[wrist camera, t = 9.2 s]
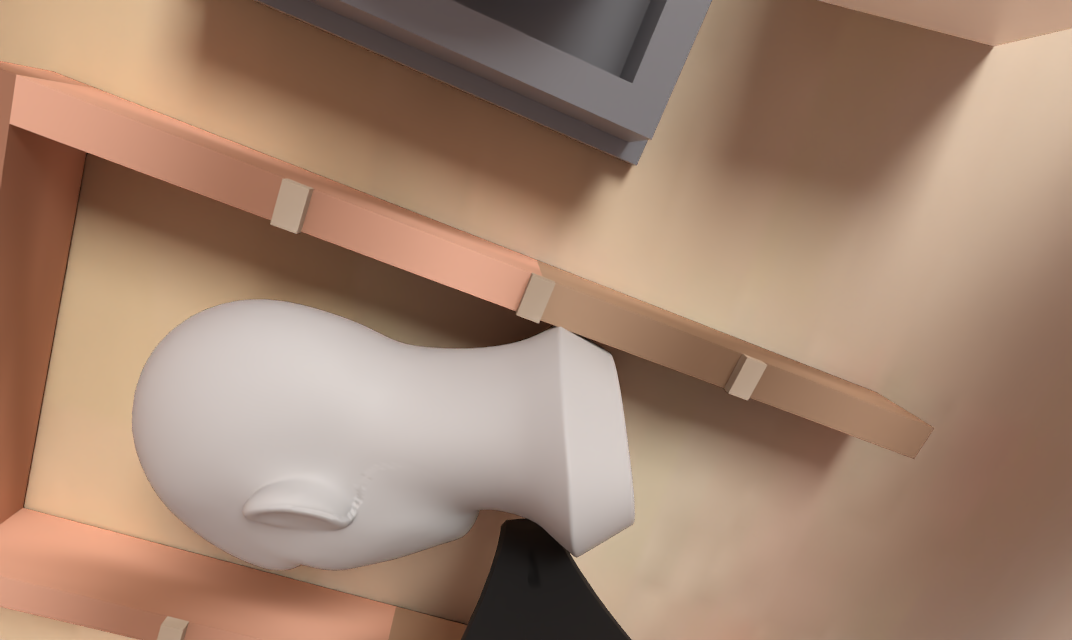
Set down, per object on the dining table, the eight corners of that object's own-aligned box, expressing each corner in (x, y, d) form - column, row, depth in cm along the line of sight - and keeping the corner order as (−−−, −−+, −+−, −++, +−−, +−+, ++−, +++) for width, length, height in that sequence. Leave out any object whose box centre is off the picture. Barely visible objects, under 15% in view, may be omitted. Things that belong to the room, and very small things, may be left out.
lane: (877, 392, 12) (942, 432, 10) (686, 706, 14) (712, 783, 12) (53, 71, 9) (-53, 49, 7) (-19, 525, 11) (-113, 592, 10)
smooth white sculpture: (246, 442, 12) (203, 235, 10) (592, 478, 13) (643, 290, 10) (120, 636, 9) (-6, 389, 6) (611, 676, 9) (700, 465, 6)
